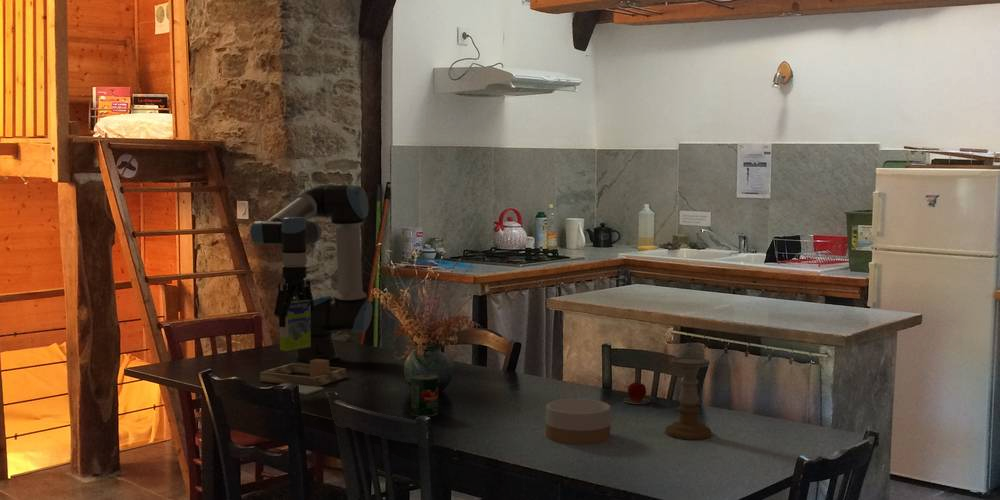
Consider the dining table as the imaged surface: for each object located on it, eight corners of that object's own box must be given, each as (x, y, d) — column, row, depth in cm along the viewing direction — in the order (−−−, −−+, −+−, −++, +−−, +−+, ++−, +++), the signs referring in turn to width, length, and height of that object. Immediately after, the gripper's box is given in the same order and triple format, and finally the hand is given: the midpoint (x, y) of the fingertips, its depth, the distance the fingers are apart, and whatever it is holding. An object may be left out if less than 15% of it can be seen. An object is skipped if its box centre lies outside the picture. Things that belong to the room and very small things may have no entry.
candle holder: (719, 438, 273) (721, 363, 271) (677, 441, 270) (679, 365, 268) (698, 426, 285) (699, 354, 283) (657, 429, 281) (658, 357, 280)
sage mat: (285, 384, 337) (285, 383, 337) (323, 389, 330) (323, 387, 330) (268, 390, 329) (268, 388, 329) (307, 394, 322) (306, 392, 322)
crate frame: (292, 371, 359) (292, 363, 358) (346, 377, 349) (346, 368, 349) (260, 381, 342) (260, 372, 342) (315, 387, 333) (314, 378, 333)
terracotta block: (316, 379, 346) (316, 358, 345) (329, 380, 344) (329, 360, 343) (309, 381, 342) (309, 360, 342) (322, 382, 340) (322, 362, 340)
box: (286, 351, 323) (285, 296, 322) (278, 349, 326) (277, 295, 324) (312, 346, 331) (311, 293, 330) (303, 345, 334) (303, 292, 332)
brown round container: (563, 448, 263) (564, 416, 263) (535, 432, 279) (535, 401, 278) (622, 441, 270) (622, 409, 270) (590, 425, 286) (591, 396, 285)
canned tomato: (431, 417, 294) (431, 379, 293) (406, 415, 297) (406, 377, 296) (442, 411, 301) (442, 374, 300) (418, 409, 304) (418, 372, 303)
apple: (630, 398, 320) (631, 377, 319) (654, 401, 315) (654, 380, 315) (618, 403, 313) (618, 381, 313) (641, 406, 309) (642, 385, 308)
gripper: (306, 262, 338) (307, 328, 340) (261, 268, 317) (262, 339, 319) (325, 263, 335) (325, 330, 337) (281, 269, 314) (282, 340, 316)
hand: (295, 334), depth 328 cm, fingers closed on box, 11 cm apart
